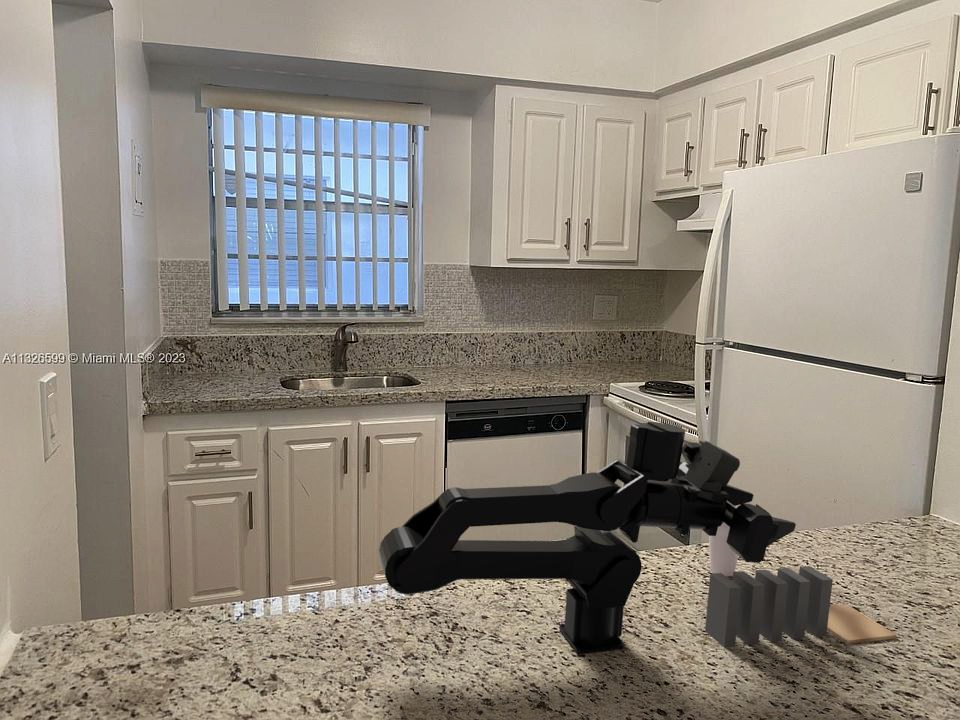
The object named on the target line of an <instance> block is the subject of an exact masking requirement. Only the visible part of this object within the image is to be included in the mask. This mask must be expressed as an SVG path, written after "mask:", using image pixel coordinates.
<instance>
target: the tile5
mask: <svg viewBox="0 0 960 720" xmlns="http://www.w3.org/2000/svg"><path fill="white" fill-rule="evenodd" d="M798 574H799V575H801V576H802V577H804V578H806V579H807V580H809V581H810V590H809V599H808V609H807V618H806V627H805V631H806V630H807V632H808V633H809V632H810V633H809V634H811V636H813V635H814V636H813V637H815V638H824V636H826V637H827V634H828V631H827V626H828V617H829V608H830V606H831V599H832V590H833V589H832V588H833V582H834V581H833V578H831V577H829V576H827V575H826V574H824V573H822V572H820V570H817V569H815V568H814V567H812V566H811V565H806V566H804V565H803V566H799V572H798Z"/></svg>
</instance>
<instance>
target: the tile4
mask: <svg viewBox="0 0 960 720" xmlns="http://www.w3.org/2000/svg"><path fill="white" fill-rule="evenodd" d="M776 576H777V577H779V578H780V579H782V580H783V581H785V582H786V583H788V586H787V595H786V605H785V614H784V624H783V633H784V634H785V635H786V636H787V637H789V638H790V637H791V639H792V640H793V641H797V640H805V634H806V630H805V627H806V618H807V609H808V599H809V590H810V581H809V580H807V579H806V578H804V577H802V576H801V575H799V573H798V572H796V571H794V570H793V569H791V568H789V567H780V568H777V575H776Z"/></svg>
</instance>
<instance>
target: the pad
mask: <svg viewBox="0 0 960 720" xmlns="http://www.w3.org/2000/svg"><path fill="white" fill-rule="evenodd" d="M827 633H830V634H831V635H832V634H833V636H834V637H835V638H837V639H838V638H839V639H838V640H840V641H841V642H843V643H844V644H846V645H851V644H858V643H859V644H860V643H868V642H869V643H870V642H877V641H886V640H895V639H897V634H896V633H894V632H893V631H891V630H889V629H887V628H886V627H884V626H883V625H881V624H880V623H878V622H876V621H875V620H873V619H871V618H869V617H868V616H866V615H865V614H863V613H861V612H860V611H858V610H857V609H855V608H853V607H852V606H850V605H849V604H847V603H845V604H835V605H830V608H829V617H828V626H827Z"/></svg>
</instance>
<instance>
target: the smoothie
mask: <svg viewBox="0 0 960 720" xmlns="http://www.w3.org/2000/svg"><path fill="white" fill-rule="evenodd" d="M729 529H730V527H729V526H728V525H727V524H725V523H724V522H723V523H722V525H721V526H720V527H718V529H717V533H716V536H709V535H708V544H709V545H708V547H709V548H708V549H709V551H708V552H709V571H710V572H711V574H714V573H721V574H723V575H724V576H726V577H733V576H732V575H733V572H736V567H737V564H738V559H739V556H738V555H737V554H736V553H735V552H734V551H733V550H731V548H730V547H729V545H728V544H727V542H726V541H727V537H728V533H729Z"/></svg>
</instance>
